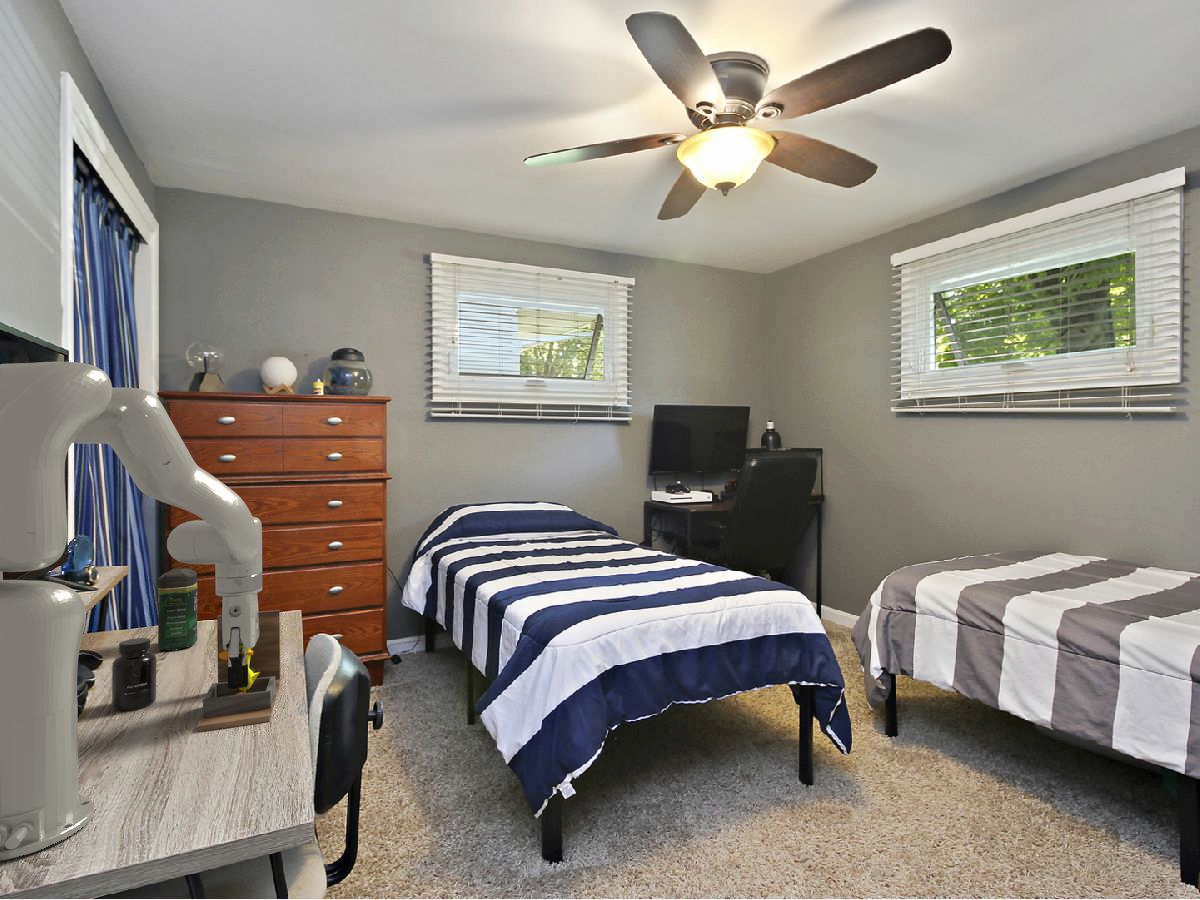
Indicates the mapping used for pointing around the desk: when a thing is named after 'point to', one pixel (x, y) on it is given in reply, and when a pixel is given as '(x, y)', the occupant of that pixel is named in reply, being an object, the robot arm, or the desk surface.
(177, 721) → the desk surface
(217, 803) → the desk surface
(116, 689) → the supplement bottle
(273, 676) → the open wooden box
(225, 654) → the toy figure
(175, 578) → the coffee jar
